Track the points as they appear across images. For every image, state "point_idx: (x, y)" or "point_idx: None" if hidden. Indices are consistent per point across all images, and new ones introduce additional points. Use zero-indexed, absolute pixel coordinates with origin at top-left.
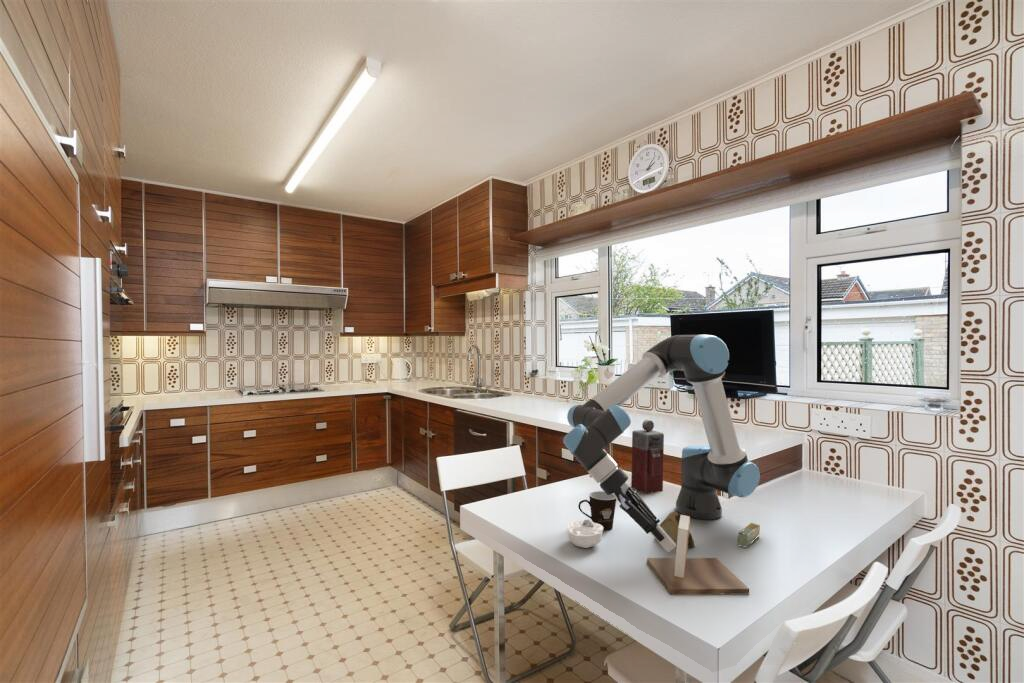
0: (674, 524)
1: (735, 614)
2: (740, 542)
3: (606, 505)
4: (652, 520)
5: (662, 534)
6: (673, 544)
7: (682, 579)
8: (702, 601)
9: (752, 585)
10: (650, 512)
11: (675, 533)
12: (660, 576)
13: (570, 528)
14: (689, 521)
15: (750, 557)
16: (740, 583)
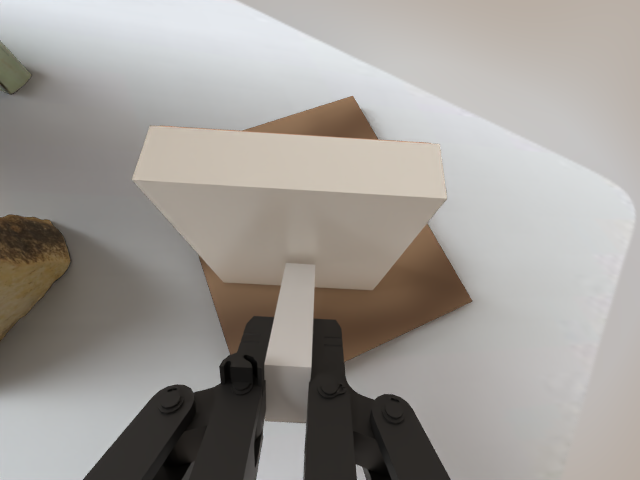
0: None
1: (475, 146)
2: (9, 77)
3: None
4: (255, 421)
5: (313, 330)
6: (314, 274)
7: None
8: (453, 214)
9: (297, 93)
10: (149, 467)
11: (9, 282)
12: (390, 339)
13: None
14: (246, 132)
15: (108, 74)
16: (331, 111)
